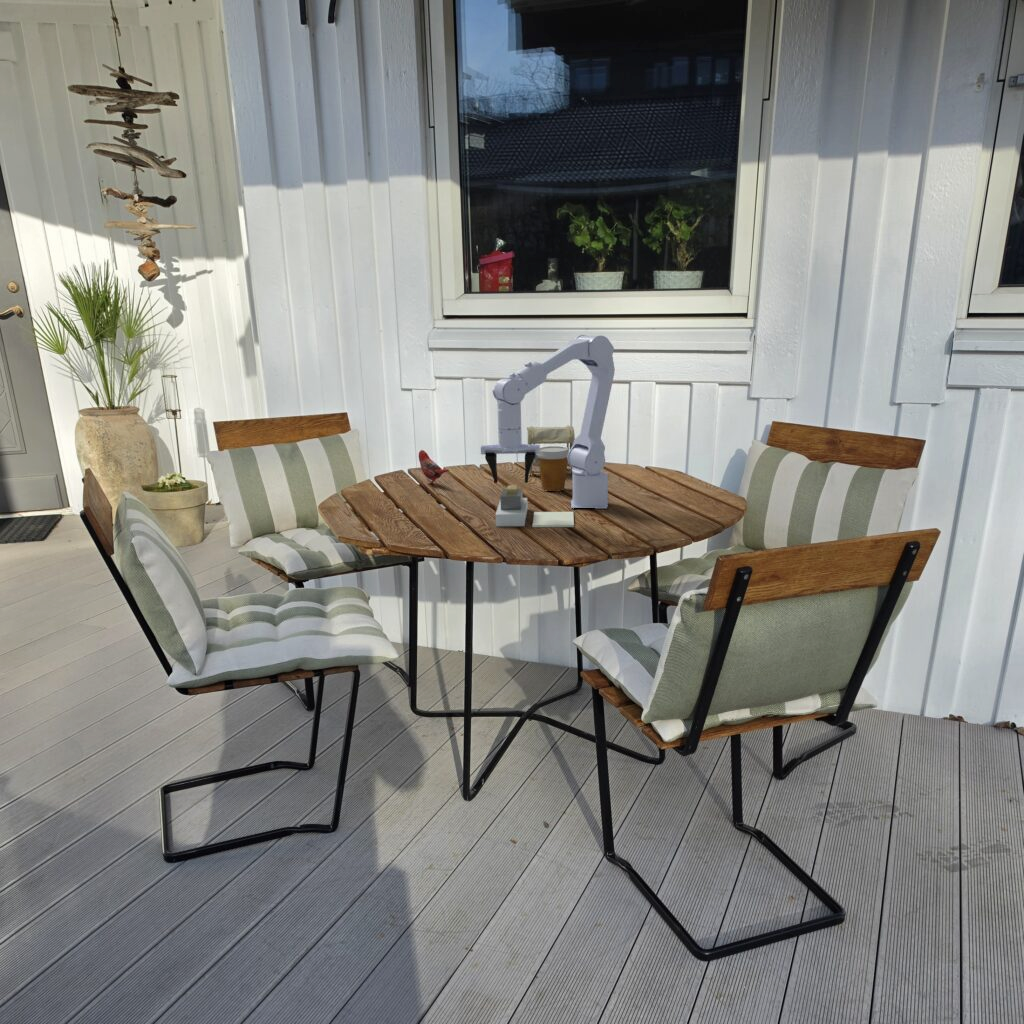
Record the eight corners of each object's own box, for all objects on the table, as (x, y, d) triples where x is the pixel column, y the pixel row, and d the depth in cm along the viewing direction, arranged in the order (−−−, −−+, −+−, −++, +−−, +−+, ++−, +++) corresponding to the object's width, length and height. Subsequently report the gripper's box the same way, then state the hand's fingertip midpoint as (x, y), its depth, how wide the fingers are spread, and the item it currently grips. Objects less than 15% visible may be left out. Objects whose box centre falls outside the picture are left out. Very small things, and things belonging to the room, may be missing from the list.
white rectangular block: (527, 508, 198) (527, 484, 196) (524, 526, 182) (523, 500, 181) (501, 509, 198) (500, 485, 197) (495, 526, 183) (494, 500, 181)
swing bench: (528, 476, 235) (527, 430, 231) (527, 470, 244) (526, 425, 240) (575, 475, 235) (575, 428, 231) (572, 469, 244) (572, 424, 240)
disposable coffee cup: (575, 491, 215) (575, 450, 212) (545, 495, 212) (544, 453, 208) (561, 484, 223) (560, 444, 220) (531, 488, 220) (530, 447, 217)
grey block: (522, 501, 193) (522, 484, 192) (520, 509, 186) (520, 492, 184) (503, 501, 194) (502, 484, 192) (500, 510, 186) (500, 492, 185)
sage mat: (573, 513, 192) (573, 511, 192) (573, 526, 181) (573, 524, 180) (534, 513, 193) (534, 512, 193) (532, 527, 181) (532, 525, 181)
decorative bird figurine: (424, 479, 235) (422, 448, 232) (454, 489, 221) (452, 456, 218) (415, 481, 233) (413, 449, 230) (445, 491, 219) (444, 457, 216)
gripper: (478, 431, 181) (480, 485, 185) (538, 430, 180) (539, 485, 184) (481, 426, 188) (483, 479, 191) (539, 425, 187) (540, 479, 190)
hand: (511, 482), depth 188 cm, fingers open, 7 cm apart
